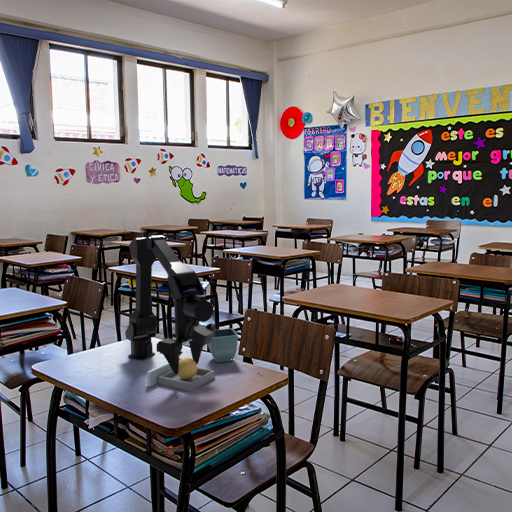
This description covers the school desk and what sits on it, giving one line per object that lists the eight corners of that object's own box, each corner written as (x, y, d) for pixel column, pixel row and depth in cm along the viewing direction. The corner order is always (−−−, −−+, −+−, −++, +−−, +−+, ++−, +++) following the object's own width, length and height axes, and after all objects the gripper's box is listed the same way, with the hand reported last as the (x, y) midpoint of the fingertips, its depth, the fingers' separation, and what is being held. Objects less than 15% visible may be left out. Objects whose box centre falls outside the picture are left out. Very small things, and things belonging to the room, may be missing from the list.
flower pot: (211, 365, 153) (210, 337, 152) (206, 357, 161) (205, 330, 160) (239, 362, 155) (238, 335, 154) (232, 354, 164) (232, 328, 163)
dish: (158, 384, 138) (157, 376, 138) (183, 371, 148) (183, 364, 148) (191, 391, 133) (190, 383, 132) (214, 377, 143) (214, 370, 142)
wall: (147, 385, 137) (147, 371, 137) (179, 370, 149) (178, 357, 149) (150, 386, 137) (149, 372, 136) (181, 370, 149) (181, 357, 148)
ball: (171, 380, 139) (171, 359, 139) (184, 373, 144) (184, 353, 144) (188, 384, 136) (188, 363, 136) (201, 377, 142) (201, 356, 141)
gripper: (187, 326, 126) (189, 384, 128) (227, 311, 142) (228, 363, 144) (154, 321, 132) (156, 377, 133) (195, 307, 148) (197, 357, 150)
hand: (186, 368), depth 140 cm, fingers open, 9 cm apart
